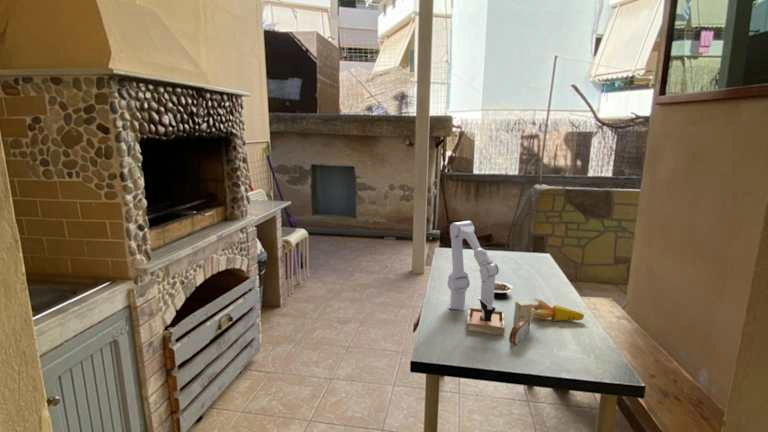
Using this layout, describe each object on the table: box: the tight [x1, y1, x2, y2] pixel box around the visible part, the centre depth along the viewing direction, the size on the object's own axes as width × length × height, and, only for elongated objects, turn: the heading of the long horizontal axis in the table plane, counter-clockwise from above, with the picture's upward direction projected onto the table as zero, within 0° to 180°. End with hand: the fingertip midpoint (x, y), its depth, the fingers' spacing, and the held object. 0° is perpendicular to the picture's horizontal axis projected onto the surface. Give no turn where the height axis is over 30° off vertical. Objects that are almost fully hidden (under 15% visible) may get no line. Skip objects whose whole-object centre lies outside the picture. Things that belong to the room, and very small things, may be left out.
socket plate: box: [472, 311, 499, 326], centre depth 189 cm, size 12×12×2 cm
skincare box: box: [512, 299, 534, 330], centre depth 185 cm, size 6×4×12 cm
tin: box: [508, 318, 528, 346], centre depth 175 cm, size 15×3×8 cm, turn 141°
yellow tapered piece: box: [531, 298, 585, 322], centre depth 194 cm, size 8×8×25 cm
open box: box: [466, 306, 505, 337], centre depth 188 cm, size 16×16×4 cm
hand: (485, 316), depth 188 cm, fingers open, 7 cm apart
